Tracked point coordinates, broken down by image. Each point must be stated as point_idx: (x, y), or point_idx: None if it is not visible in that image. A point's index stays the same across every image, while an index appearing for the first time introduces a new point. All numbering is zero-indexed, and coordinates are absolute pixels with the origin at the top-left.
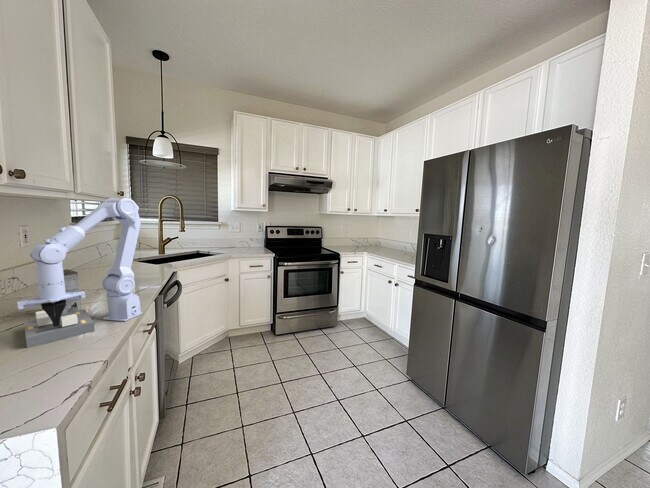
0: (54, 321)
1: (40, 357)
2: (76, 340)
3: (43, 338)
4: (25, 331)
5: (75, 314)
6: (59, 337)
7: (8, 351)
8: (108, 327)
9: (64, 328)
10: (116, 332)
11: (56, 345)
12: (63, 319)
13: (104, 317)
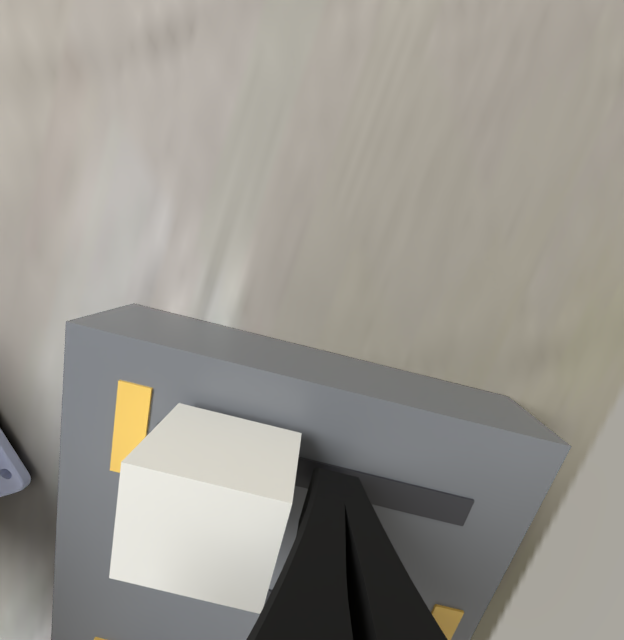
0: (362, 519)
1: (560, 108)
2: (281, 225)
3: (440, 395)
4: (489, 599)
5: (119, 548)
6: (342, 360)
7: (580, 440)
8: (42, 283)
9: (296, 399)
10: (21, 89)
11: (397, 261)
12: (273, 495)
13: (8, 491)
